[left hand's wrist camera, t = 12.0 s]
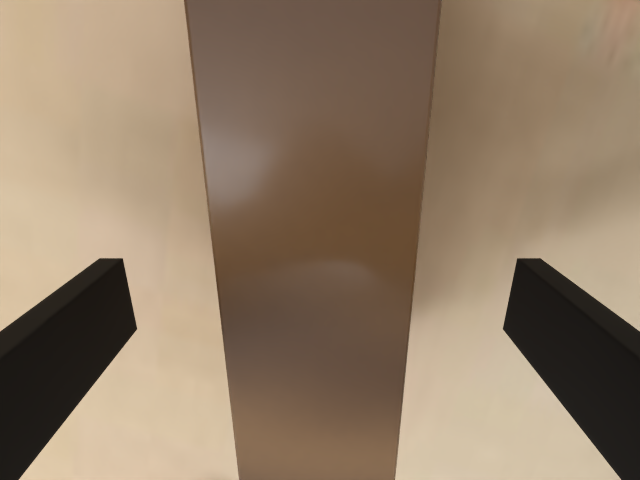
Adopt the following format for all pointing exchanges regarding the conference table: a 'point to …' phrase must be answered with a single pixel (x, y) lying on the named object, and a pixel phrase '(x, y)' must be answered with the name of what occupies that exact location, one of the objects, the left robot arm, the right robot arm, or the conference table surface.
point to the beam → (314, 220)
